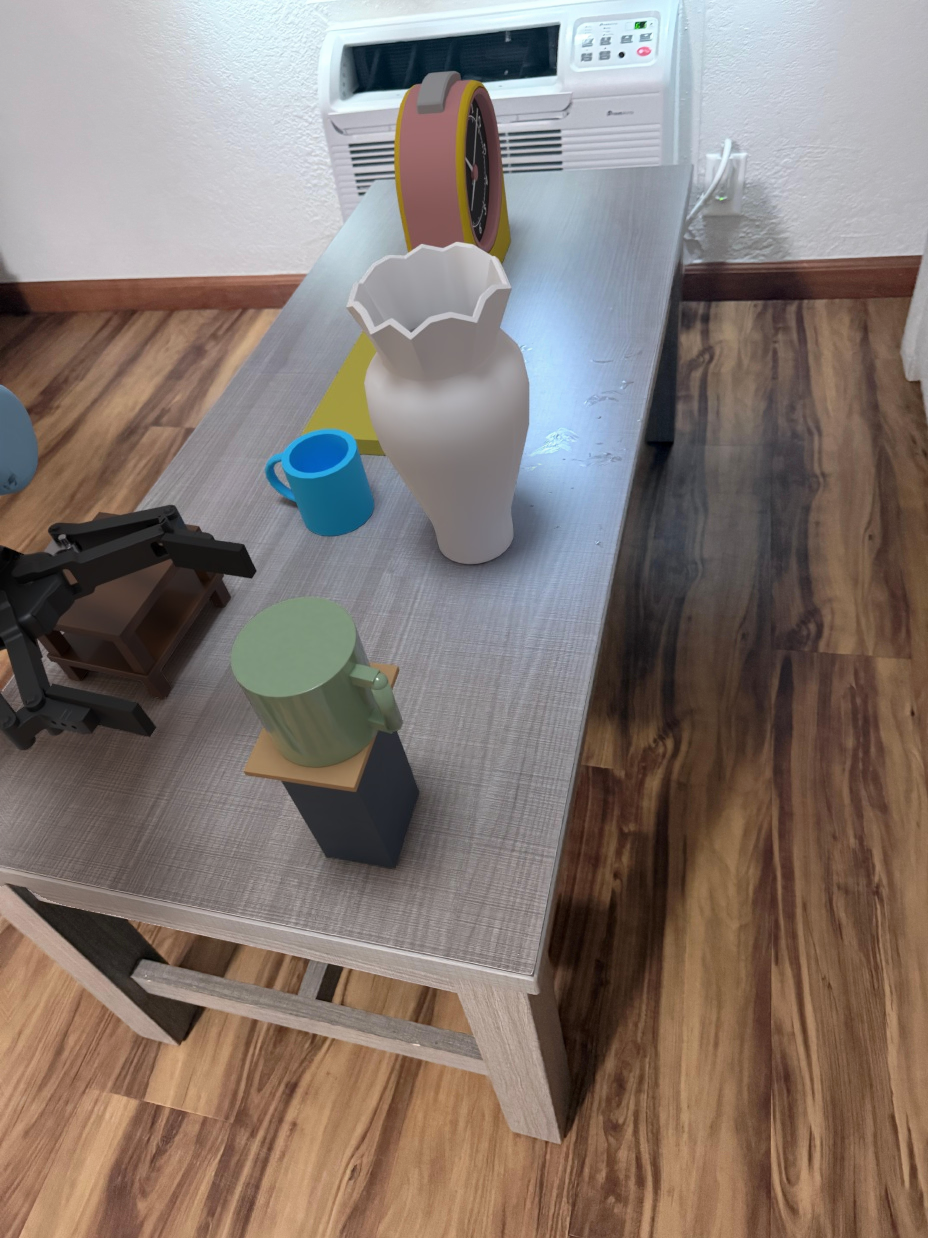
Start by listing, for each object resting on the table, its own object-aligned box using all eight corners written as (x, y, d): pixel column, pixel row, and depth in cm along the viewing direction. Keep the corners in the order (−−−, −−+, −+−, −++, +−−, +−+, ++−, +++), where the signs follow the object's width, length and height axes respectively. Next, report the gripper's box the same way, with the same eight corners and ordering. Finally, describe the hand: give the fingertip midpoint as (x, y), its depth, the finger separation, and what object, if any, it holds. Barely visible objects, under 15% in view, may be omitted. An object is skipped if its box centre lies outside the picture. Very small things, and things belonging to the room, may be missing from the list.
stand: (402, 889, 68) (354, 787, 57) (307, 872, 70) (242, 771, 59) (435, 777, 74) (398, 665, 63) (347, 765, 77) (296, 654, 65)
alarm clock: (481, 314, 121) (451, 107, 102) (418, 315, 124) (377, 112, 104) (511, 239, 134) (490, 42, 115) (454, 240, 137) (423, 48, 117)
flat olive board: (398, 456, 104) (453, 340, 118) (394, 441, 102) (450, 326, 117) (305, 450, 107) (369, 339, 122) (300, 436, 105) (366, 325, 120)
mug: (385, 491, 100) (369, 432, 94) (355, 540, 95) (336, 482, 89) (294, 478, 104) (272, 421, 98) (261, 525, 99) (236, 469, 93)
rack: (165, 702, 84) (119, 635, 77) (65, 680, 88) (12, 614, 81) (234, 595, 92) (199, 525, 85) (140, 579, 96) (99, 511, 89)
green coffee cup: (248, 750, 60) (205, 679, 54) (305, 660, 64) (271, 586, 58) (380, 791, 56) (350, 720, 50) (431, 693, 61) (409, 617, 55)
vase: (422, 490, 99) (361, 238, 77) (553, 491, 96) (527, 228, 74) (393, 587, 90) (314, 332, 68) (536, 591, 86) (501, 324, 65)
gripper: (77, 512, 74) (298, 543, 68) (-135, 760, 60) (120, 832, 53) (32, 440, 69) (267, 467, 62) (-215, 695, 54) (58, 766, 47)
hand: (200, 635), depth 58 cm, fingers open, 13 cm apart
